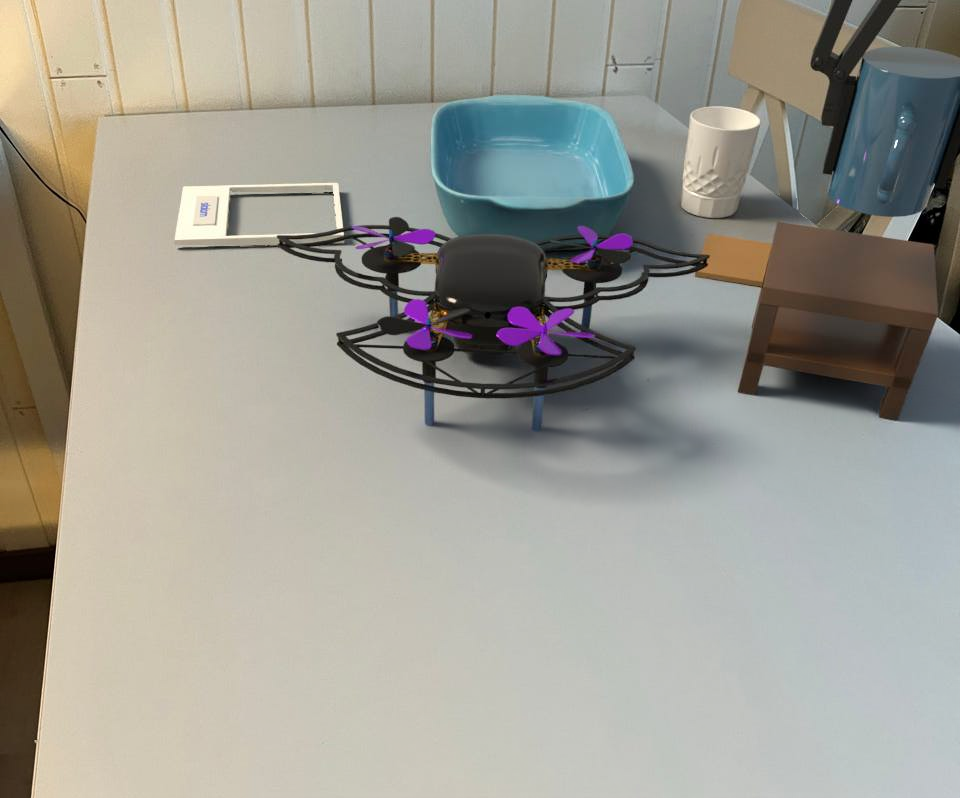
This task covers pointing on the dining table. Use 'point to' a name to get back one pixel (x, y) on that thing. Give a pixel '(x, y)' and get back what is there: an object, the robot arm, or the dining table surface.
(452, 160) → the casserole dish
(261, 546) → the dining table surface
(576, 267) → the drone
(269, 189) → the photo frame
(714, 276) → the cork mat
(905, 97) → the mug
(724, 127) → the white cup
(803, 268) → the walnut side table
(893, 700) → the dining table surface
